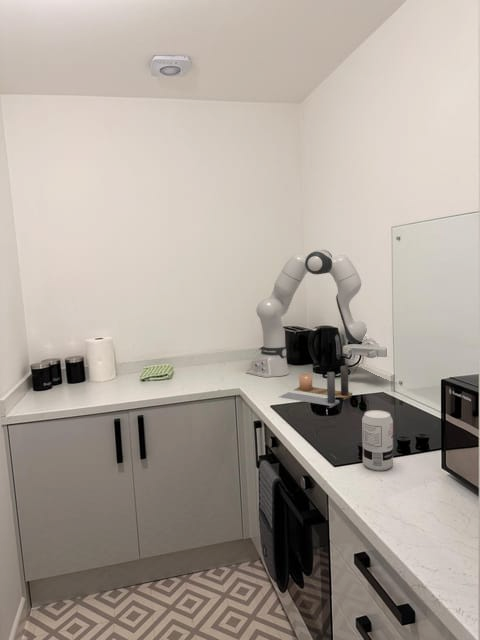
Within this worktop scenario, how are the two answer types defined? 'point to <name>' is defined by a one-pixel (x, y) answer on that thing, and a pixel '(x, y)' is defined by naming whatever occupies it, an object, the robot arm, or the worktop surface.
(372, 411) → the supplement can
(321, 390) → the walnut strip
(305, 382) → the tan rounded blob
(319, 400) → the slate-grey strip
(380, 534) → the worktop surface
